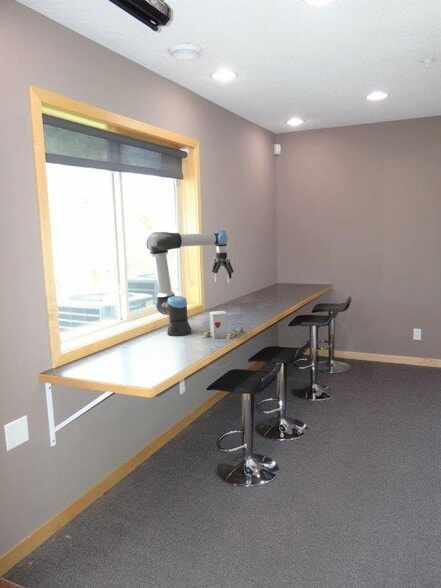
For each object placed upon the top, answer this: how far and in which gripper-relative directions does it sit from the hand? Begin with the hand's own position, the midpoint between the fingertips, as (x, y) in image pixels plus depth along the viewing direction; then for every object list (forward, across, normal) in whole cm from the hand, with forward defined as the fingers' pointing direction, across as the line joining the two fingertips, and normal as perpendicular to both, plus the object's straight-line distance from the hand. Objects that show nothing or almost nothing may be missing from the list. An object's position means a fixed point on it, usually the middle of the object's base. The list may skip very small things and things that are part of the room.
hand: (223, 282), depth 328 cm
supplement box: (+28, -36, +37) cm, 59 cm away
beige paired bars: (+27, -34, +31) cm, 54 cm away
